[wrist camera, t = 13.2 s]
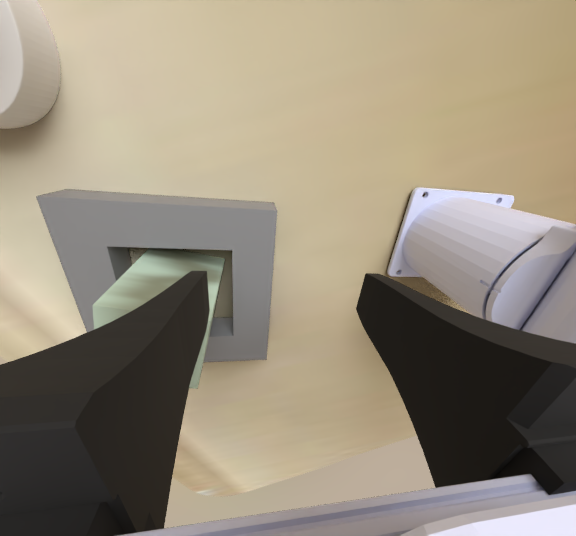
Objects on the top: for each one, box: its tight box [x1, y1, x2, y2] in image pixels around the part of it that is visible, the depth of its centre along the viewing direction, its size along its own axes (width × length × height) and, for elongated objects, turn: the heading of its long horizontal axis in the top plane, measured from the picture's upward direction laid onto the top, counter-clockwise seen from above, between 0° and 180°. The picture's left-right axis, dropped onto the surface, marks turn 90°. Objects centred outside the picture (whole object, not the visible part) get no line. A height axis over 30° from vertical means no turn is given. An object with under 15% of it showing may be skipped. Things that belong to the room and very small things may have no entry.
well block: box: [36, 189, 277, 362], centre depth 19 cm, size 14×14×2 cm
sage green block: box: [93, 248, 225, 389], centre depth 17 cm, size 6×6×8 cm
